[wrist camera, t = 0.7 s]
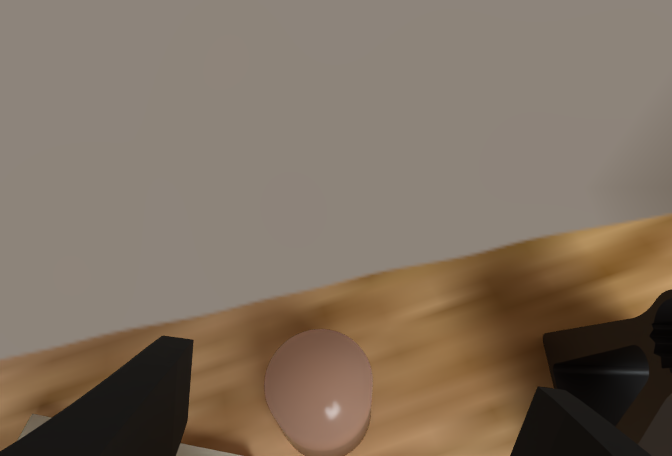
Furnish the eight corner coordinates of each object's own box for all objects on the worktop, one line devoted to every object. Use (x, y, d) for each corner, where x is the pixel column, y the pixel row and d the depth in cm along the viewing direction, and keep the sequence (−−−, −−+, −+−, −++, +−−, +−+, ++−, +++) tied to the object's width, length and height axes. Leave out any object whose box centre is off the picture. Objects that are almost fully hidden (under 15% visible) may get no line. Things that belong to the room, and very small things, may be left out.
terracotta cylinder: (363, 469, 22) (364, 448, 18) (270, 450, 23) (250, 427, 19) (376, 373, 25) (379, 337, 21) (292, 359, 25) (279, 322, 21)
